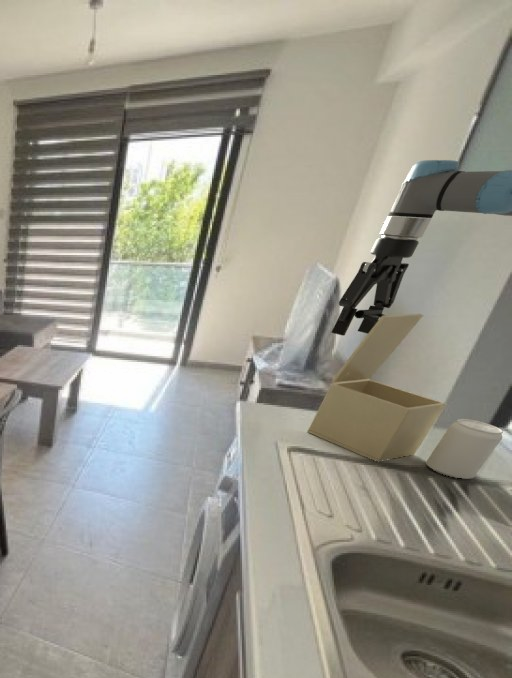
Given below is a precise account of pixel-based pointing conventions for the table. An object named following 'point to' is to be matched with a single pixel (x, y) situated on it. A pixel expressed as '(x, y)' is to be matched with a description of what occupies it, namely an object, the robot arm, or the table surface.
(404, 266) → the robot arm
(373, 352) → the box lid
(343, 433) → the tan box
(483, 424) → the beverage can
